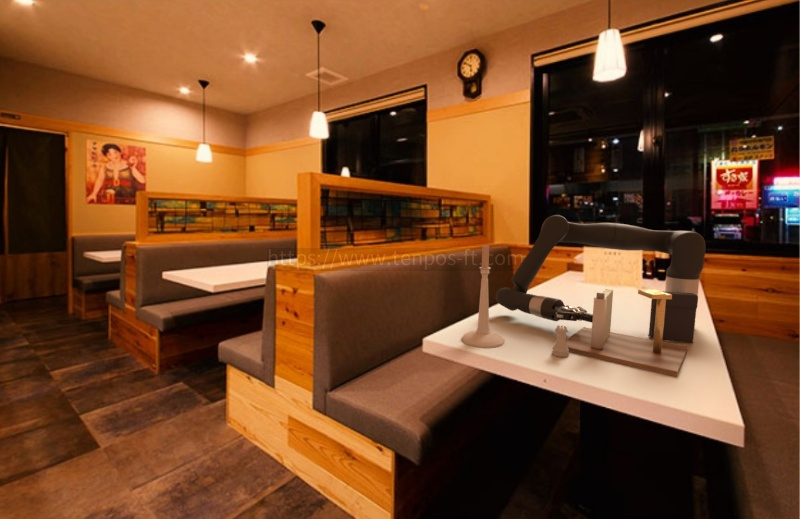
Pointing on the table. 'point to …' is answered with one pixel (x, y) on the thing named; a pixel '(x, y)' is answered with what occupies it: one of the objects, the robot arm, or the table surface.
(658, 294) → the plate
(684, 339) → the dark brown flat block
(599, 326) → the hinge
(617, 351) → the board
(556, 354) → the rook chess piece
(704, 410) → the table surface
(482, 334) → the candlestick
